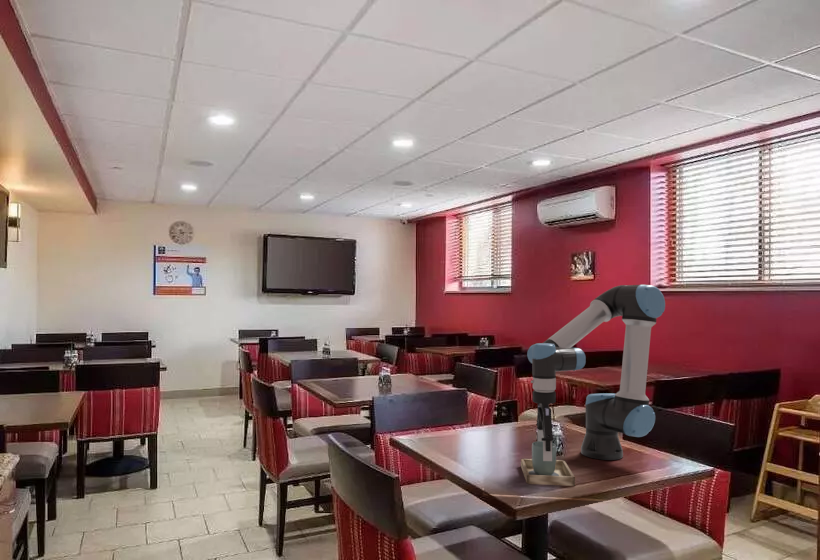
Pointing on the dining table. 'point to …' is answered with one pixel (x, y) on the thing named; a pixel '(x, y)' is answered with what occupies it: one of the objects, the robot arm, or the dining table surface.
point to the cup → (537, 459)
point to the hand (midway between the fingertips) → (544, 454)
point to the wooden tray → (561, 469)
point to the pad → (536, 474)
